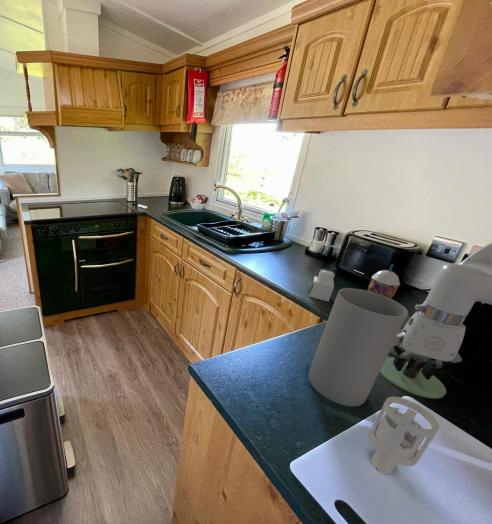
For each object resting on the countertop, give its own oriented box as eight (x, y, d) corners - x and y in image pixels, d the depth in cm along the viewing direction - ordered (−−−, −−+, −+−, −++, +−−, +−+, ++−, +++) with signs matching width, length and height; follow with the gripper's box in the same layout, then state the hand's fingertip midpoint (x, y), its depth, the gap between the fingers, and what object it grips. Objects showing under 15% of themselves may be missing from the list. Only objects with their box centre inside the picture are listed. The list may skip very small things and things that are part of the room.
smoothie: (356, 310, 112) (376, 263, 104) (361, 303, 117) (380, 258, 110) (383, 320, 106) (406, 270, 99) (386, 312, 112) (408, 265, 104)
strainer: (352, 460, 55) (382, 402, 50) (366, 441, 59) (395, 386, 54) (397, 494, 50) (436, 434, 45) (409, 472, 54) (447, 414, 48)
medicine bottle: (309, 290, 125) (317, 265, 121) (328, 295, 122) (337, 269, 118) (308, 297, 119) (317, 270, 115) (328, 302, 116) (338, 275, 112)
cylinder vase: (296, 372, 77) (325, 289, 68) (334, 367, 80) (366, 287, 71) (335, 412, 66) (376, 319, 56) (377, 404, 69) (423, 314, 59)
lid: (429, 370, 82) (440, 351, 79) (456, 409, 69) (470, 388, 67) (368, 353, 87) (376, 335, 84) (382, 386, 74) (393, 366, 72)
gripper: (404, 311, 70) (376, 369, 77) (499, 332, 64) (459, 394, 71) (394, 298, 77) (368, 353, 83) (479, 316, 70) (444, 374, 77)
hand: (410, 371), depth 77 cm, fingers open, 5 cm apart
